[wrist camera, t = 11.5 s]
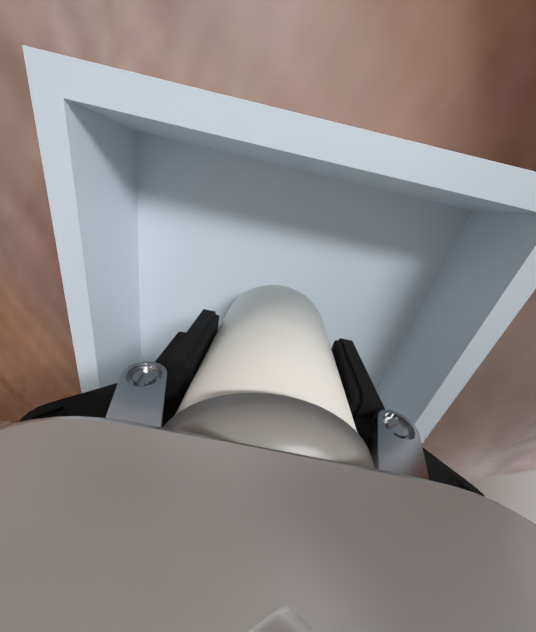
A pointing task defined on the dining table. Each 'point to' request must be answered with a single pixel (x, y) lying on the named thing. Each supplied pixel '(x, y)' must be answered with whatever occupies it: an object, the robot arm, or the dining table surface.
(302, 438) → the canister
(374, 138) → the tote
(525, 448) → the dining table surface
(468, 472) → the dining table surface
